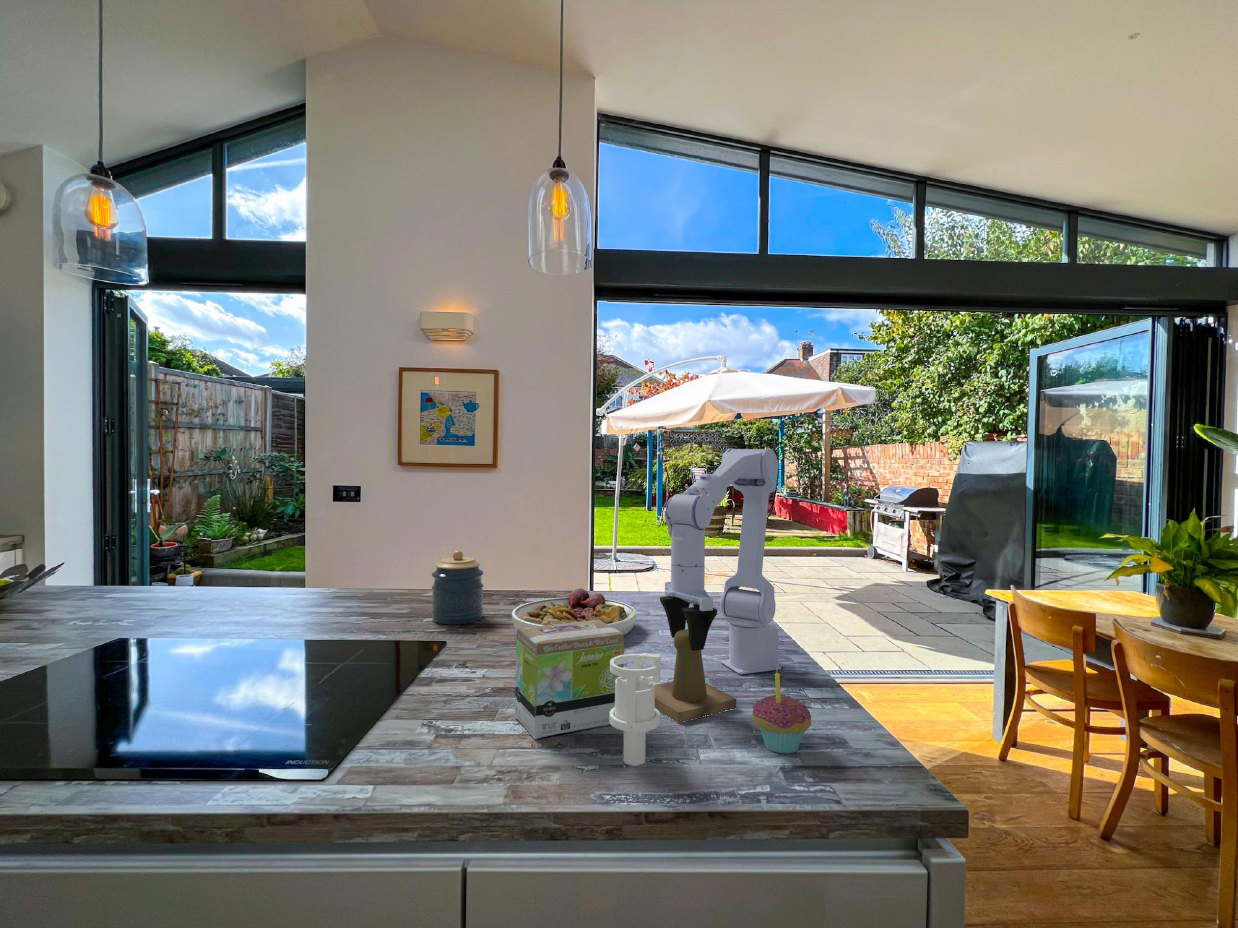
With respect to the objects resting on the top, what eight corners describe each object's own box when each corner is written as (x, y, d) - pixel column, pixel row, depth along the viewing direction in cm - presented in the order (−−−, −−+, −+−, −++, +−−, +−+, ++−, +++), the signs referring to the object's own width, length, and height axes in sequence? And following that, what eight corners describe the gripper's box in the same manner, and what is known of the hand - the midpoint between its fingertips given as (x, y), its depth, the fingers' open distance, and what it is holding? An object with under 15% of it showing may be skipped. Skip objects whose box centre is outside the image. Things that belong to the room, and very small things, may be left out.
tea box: (535, 742, 95) (535, 643, 94) (513, 717, 103) (514, 626, 103) (624, 723, 101) (625, 631, 101) (597, 701, 110) (598, 616, 110)
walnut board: (693, 690, 118) (693, 676, 118) (736, 713, 108) (736, 698, 108) (638, 702, 112) (638, 688, 112) (678, 728, 102) (678, 712, 102)
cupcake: (801, 765, 88) (802, 679, 88) (742, 749, 93) (743, 667, 92) (817, 741, 95) (818, 662, 95) (762, 728, 100) (763, 652, 100)
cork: (708, 702, 106) (707, 635, 106) (671, 701, 106) (671, 635, 106) (705, 688, 112) (705, 626, 112) (671, 688, 112) (670, 625, 112)
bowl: (637, 650, 140) (638, 614, 140) (501, 649, 140) (501, 613, 140) (634, 616, 170) (635, 586, 170) (522, 615, 170) (522, 585, 170)
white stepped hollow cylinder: (656, 774, 85) (657, 663, 85) (604, 769, 86) (605, 659, 86) (662, 750, 92) (663, 647, 92) (614, 746, 93) (614, 644, 93)
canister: (422, 623, 159) (422, 553, 159) (444, 611, 172) (445, 546, 172) (471, 626, 157) (471, 555, 157) (490, 613, 170) (491, 547, 170)
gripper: (649, 558, 115) (649, 633, 115) (685, 573, 101) (684, 658, 101) (685, 556, 117) (684, 630, 117) (724, 570, 104) (723, 653, 104)
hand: (687, 643), depth 110 cm, fingers open, 7 cm apart
